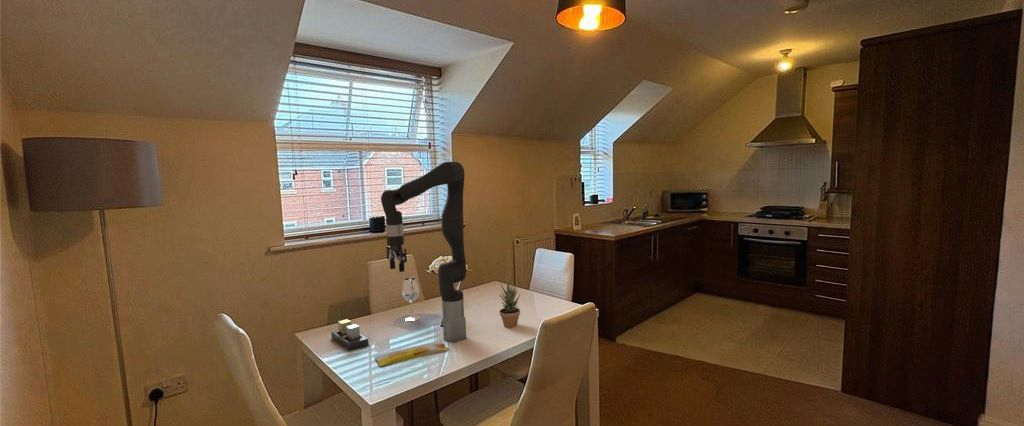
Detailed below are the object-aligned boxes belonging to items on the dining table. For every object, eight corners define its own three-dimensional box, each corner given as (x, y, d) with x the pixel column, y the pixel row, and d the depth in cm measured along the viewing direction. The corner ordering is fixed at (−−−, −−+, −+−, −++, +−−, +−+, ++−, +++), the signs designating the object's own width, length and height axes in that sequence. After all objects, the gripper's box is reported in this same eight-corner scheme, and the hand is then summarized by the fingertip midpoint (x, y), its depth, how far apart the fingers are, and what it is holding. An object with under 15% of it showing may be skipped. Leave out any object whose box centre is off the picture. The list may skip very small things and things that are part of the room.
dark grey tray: (368, 345, 180) (368, 338, 180) (349, 351, 175) (349, 344, 175) (349, 333, 195) (349, 326, 195) (331, 338, 190) (331, 331, 190)
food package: (379, 363, 159) (374, 353, 168) (380, 369, 159) (374, 359, 168) (449, 346, 172) (440, 338, 181) (449, 352, 172) (441, 343, 181)
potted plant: (504, 321, 204) (502, 270, 202) (523, 323, 201) (521, 271, 198) (496, 328, 195) (494, 275, 192) (516, 330, 191) (514, 276, 189)
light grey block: (360, 344, 182) (359, 326, 181) (351, 347, 179) (349, 328, 178) (356, 342, 185) (355, 323, 184) (347, 344, 182) (346, 326, 181)
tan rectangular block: (352, 339, 188) (350, 321, 187) (342, 341, 186) (341, 323, 185) (348, 336, 191) (347, 319, 190) (339, 339, 188) (338, 321, 188)
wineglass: (418, 321, 208) (415, 280, 206) (402, 321, 208) (399, 281, 206) (421, 315, 216) (419, 276, 214) (406, 316, 216) (404, 277, 214)
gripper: (410, 234, 189) (412, 271, 190) (395, 232, 199) (397, 266, 201) (394, 237, 184) (397, 274, 185) (379, 234, 194) (382, 269, 196)
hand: (397, 270), depth 193 cm, fingers open, 8 cm apart
